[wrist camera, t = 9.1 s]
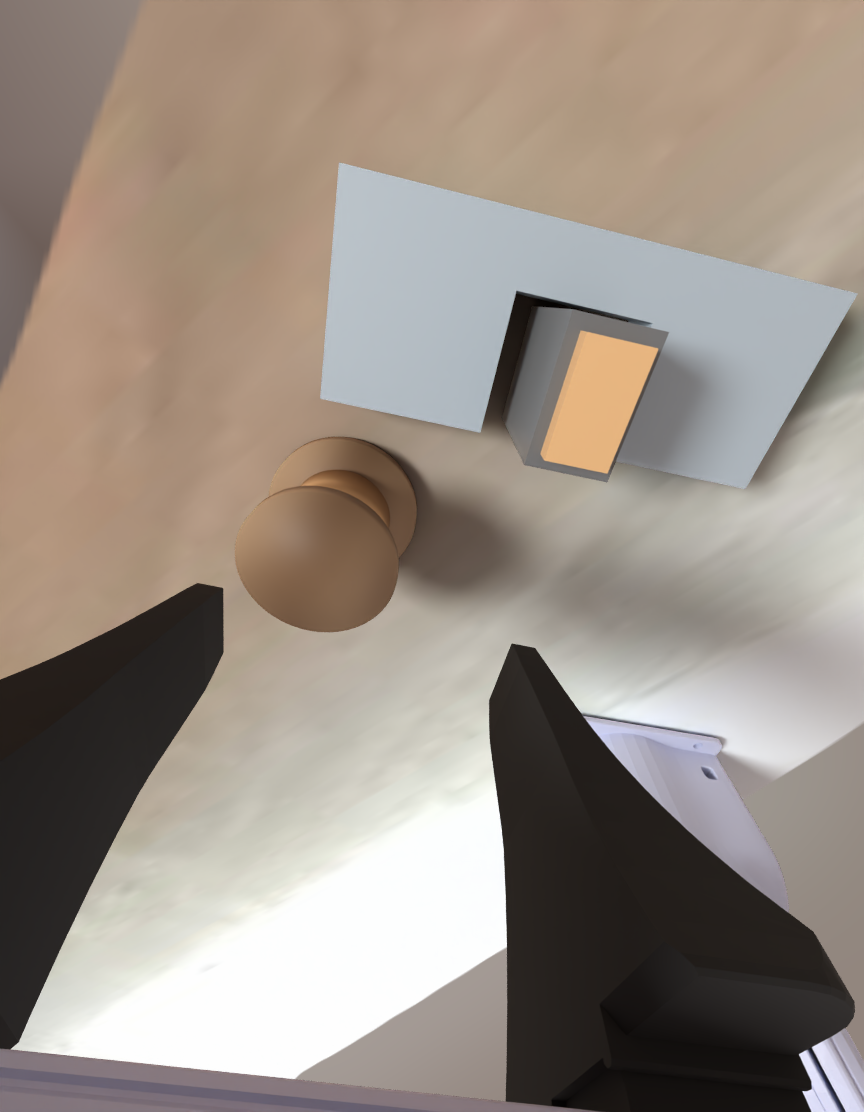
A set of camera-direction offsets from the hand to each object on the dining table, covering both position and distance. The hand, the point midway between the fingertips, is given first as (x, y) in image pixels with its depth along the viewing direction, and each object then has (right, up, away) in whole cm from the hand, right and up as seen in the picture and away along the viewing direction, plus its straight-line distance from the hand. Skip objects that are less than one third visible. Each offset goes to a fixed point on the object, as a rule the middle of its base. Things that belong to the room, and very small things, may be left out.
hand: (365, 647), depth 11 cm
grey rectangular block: (+6, +9, +6) cm, 13 cm away
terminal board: (+6, +10, +6) cm, 13 cm away
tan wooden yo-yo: (-2, +4, +9) cm, 10 cm away
